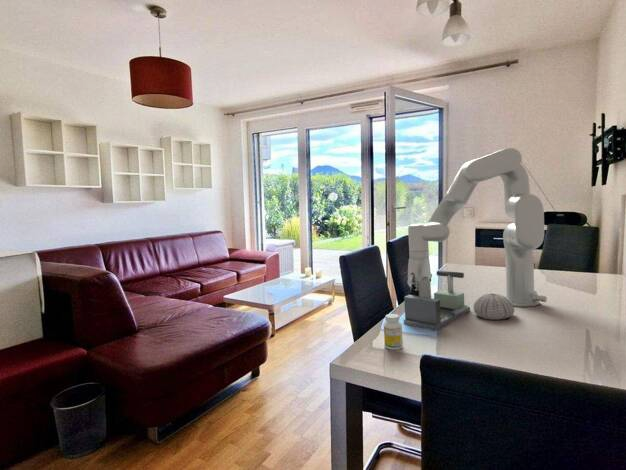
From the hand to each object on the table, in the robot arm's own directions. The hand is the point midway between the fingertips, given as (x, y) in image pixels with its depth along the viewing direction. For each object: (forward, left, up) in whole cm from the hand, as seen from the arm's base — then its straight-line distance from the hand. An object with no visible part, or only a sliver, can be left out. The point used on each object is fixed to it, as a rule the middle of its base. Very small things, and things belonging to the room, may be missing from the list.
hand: (421, 297), depth 149 cm
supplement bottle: (-15, +41, -4) cm, 44 cm away
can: (0, 0, -4) cm, 4 cm away
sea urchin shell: (-27, -3, -4) cm, 28 cm away
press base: (-12, +9, -4) cm, 15 cm away
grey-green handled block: (-12, 0, -2) cm, 12 cm away
